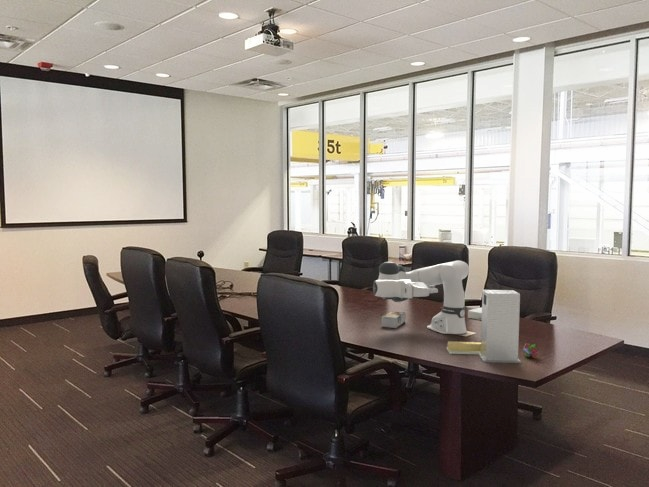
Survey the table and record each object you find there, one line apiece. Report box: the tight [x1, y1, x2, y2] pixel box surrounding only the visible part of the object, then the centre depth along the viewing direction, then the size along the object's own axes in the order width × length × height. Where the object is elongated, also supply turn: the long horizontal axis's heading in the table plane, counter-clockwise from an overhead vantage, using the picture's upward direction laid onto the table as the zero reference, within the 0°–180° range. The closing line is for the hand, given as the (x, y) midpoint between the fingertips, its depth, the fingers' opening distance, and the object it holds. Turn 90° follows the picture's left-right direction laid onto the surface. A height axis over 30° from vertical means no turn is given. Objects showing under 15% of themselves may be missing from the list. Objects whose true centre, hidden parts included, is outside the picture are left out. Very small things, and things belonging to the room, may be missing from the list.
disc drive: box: [467, 306, 482, 321], centre depth 327 cm, size 18×22×5 cm
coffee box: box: [381, 311, 407, 329], centre depth 304 cm, size 9×6×16 cm
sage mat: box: [446, 346, 481, 355], centre depth 251 cm, size 22×9×1 cm, turn 87°
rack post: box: [477, 289, 522, 364], centre depth 238 cm, size 16×11×31 cm
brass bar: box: [447, 340, 481, 351], centre depth 250 cm, size 19×4×4 cm, turn 84°
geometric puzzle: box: [522, 342, 540, 360], centre depth 242 cm, size 7×7×8 cm
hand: (436, 289), depth 250 cm, fingers open, 8 cm apart
